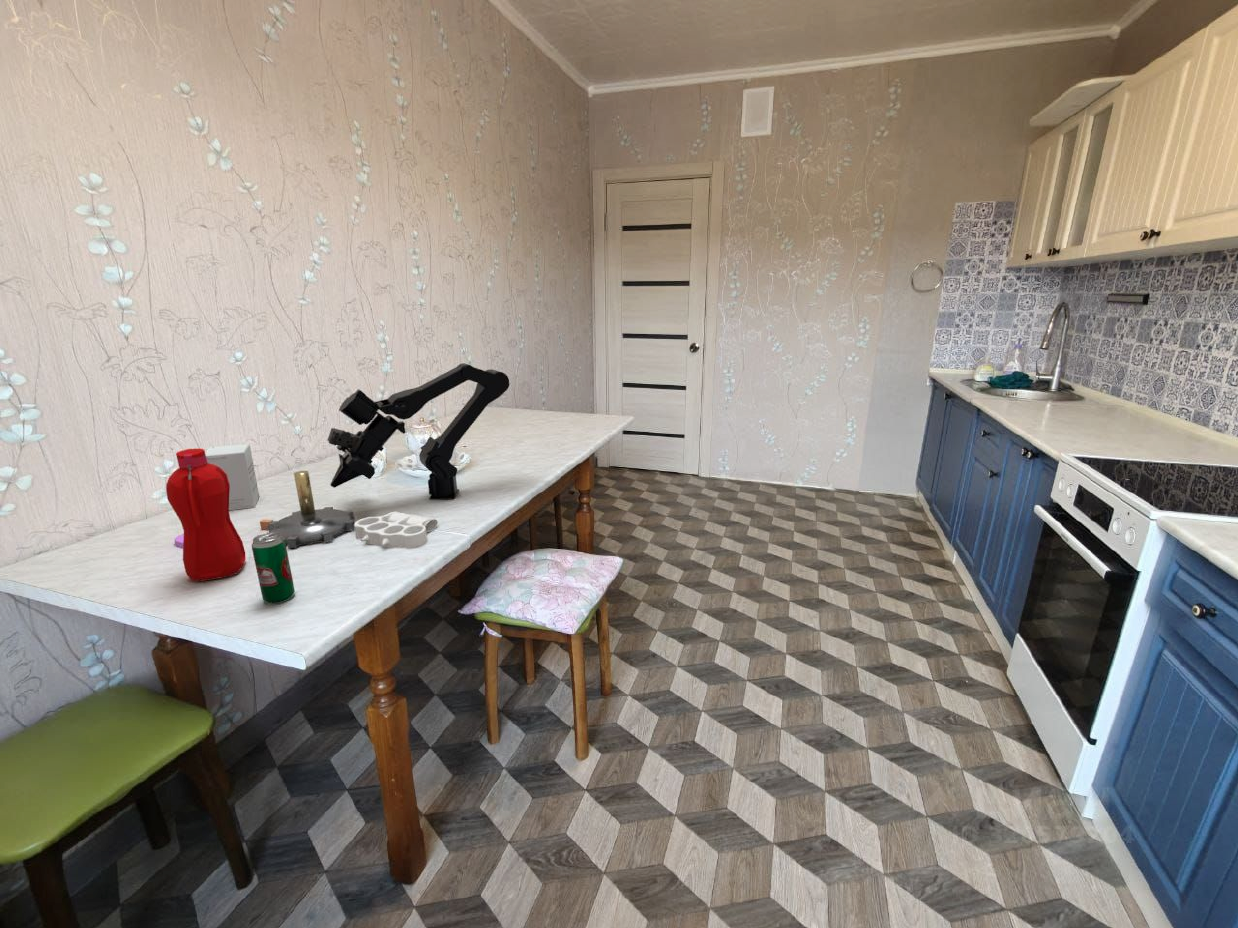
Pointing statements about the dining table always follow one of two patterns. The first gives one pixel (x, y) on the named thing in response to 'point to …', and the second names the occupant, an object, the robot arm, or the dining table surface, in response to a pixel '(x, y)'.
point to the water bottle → (204, 517)
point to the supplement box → (237, 473)
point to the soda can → (273, 567)
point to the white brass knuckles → (395, 530)
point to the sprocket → (311, 519)
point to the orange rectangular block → (265, 524)
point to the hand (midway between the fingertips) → (332, 486)
